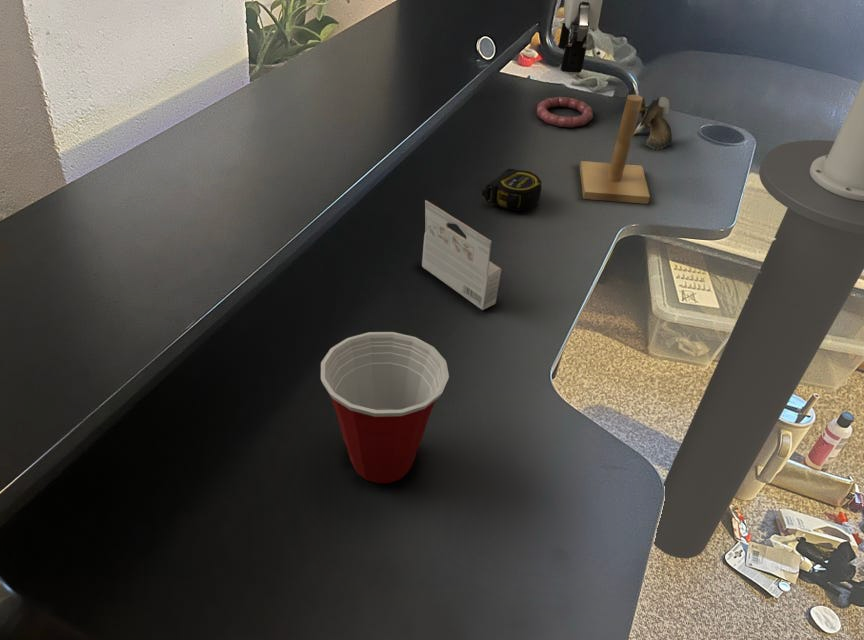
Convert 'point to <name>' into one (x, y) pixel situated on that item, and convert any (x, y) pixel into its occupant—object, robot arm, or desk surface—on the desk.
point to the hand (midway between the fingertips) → (569, 59)
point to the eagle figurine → (656, 123)
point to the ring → (564, 121)
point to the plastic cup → (383, 398)
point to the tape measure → (514, 190)
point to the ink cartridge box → (459, 258)
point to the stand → (617, 166)
